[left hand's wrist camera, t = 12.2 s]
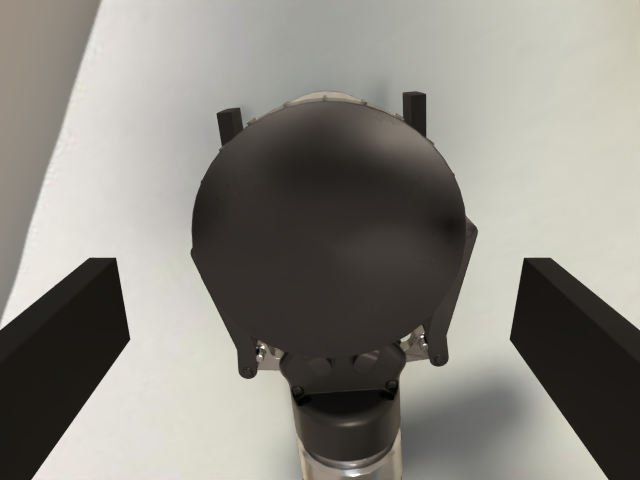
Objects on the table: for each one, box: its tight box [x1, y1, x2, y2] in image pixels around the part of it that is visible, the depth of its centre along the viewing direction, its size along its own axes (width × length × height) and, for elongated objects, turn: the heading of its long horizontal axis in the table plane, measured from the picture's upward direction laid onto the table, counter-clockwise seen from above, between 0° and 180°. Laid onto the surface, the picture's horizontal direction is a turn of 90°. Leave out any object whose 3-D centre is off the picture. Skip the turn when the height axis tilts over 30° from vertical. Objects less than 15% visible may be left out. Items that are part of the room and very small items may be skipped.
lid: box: [192, 95, 467, 358], centre depth 18 cm, size 10×10×2 cm
